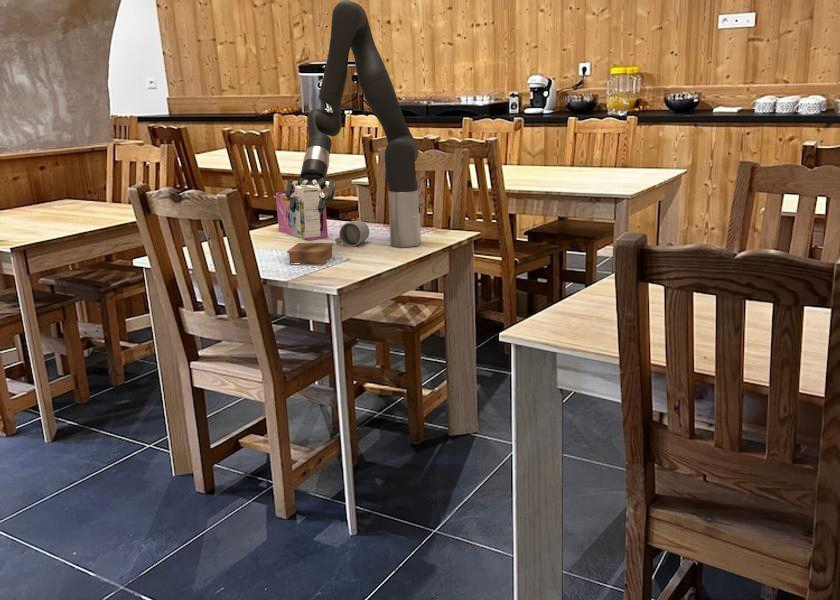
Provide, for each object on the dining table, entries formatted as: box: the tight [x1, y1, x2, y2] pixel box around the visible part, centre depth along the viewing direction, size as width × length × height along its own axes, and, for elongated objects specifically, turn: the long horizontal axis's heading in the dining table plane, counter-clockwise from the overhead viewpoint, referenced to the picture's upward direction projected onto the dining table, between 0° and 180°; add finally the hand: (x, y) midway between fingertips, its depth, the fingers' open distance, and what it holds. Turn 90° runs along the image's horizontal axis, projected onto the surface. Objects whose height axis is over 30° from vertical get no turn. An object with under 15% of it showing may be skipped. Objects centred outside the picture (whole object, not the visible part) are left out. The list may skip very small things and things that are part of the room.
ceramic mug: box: [334, 220, 370, 248], centre depth 250 cm, size 11×8×8 cm
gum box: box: [275, 190, 329, 241], centre depth 266 cm, size 24×8×14 cm, turn 35°
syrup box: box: [294, 185, 321, 239], centre depth 227 cm, size 6×6×14 cm
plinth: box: [286, 242, 334, 265], centre depth 230 cm, size 11×11×4 cm
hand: (306, 210), depth 225 cm, fingers closed on syrup box, 7 cm apart
